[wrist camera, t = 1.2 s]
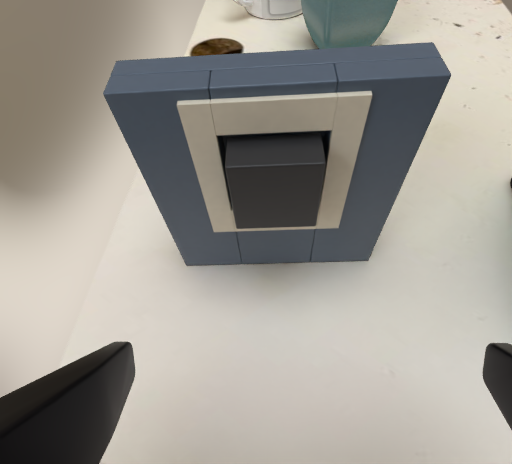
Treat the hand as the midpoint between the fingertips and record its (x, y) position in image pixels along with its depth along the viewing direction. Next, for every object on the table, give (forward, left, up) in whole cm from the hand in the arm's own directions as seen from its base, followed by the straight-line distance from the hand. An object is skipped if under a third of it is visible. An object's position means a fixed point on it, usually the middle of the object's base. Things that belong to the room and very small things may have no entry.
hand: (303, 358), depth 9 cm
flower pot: (+41, +10, -14) cm, 44 cm away
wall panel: (+10, +5, -14) cm, 18 cm away
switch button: (+8, +4, -6) cm, 11 cm away
